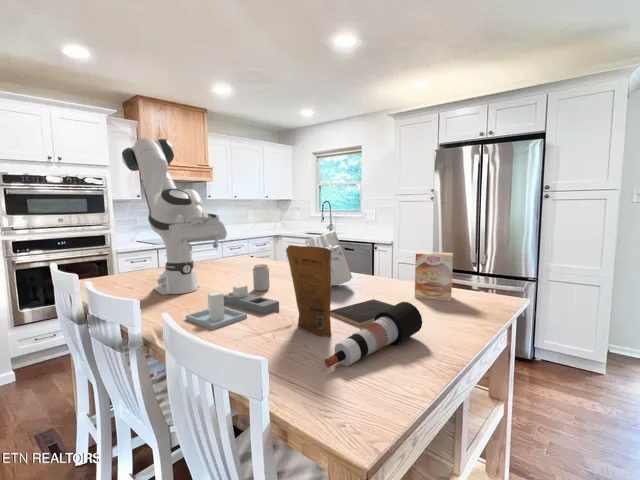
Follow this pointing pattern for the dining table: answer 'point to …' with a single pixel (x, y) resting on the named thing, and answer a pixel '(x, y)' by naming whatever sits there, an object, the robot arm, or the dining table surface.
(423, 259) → the coffeecake box
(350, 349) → the cable
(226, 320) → the tray
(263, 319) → the dining table surface
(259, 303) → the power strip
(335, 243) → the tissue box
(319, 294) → the pancake mix bag
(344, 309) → the hardcover book
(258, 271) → the can
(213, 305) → the grey rectangular block
